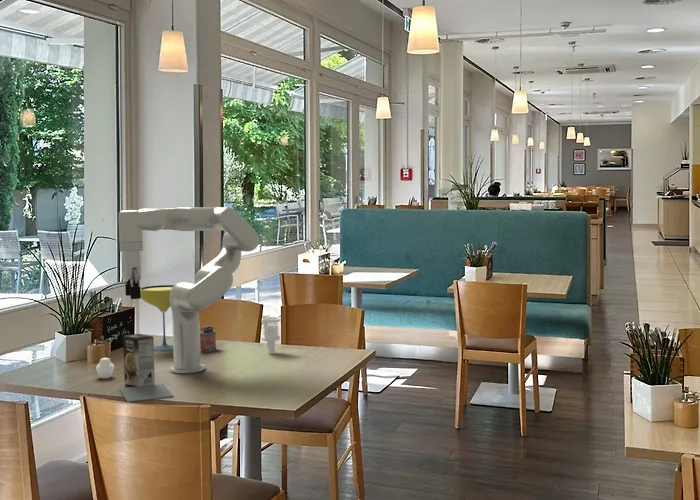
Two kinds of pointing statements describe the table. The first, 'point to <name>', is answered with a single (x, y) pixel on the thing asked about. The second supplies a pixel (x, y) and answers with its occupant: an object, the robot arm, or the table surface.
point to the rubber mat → (146, 393)
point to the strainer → (270, 332)
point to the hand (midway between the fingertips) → (133, 297)
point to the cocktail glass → (159, 306)
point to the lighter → (207, 339)
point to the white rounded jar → (105, 368)
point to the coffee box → (138, 360)
